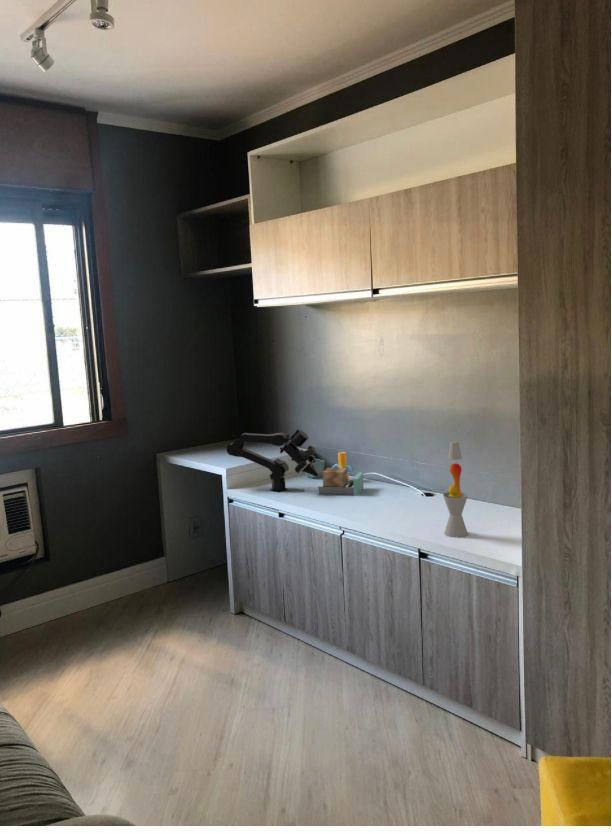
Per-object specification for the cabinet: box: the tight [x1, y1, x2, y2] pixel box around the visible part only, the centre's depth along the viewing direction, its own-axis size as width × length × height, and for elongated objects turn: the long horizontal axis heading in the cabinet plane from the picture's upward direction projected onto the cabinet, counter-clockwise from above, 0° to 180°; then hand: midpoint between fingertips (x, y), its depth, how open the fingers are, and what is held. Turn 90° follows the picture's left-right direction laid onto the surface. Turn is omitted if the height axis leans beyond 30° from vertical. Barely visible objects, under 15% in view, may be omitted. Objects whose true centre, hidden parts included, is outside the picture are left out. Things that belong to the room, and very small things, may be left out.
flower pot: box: [304, 458, 326, 479], centre depth 354 cm, size 9×9×9 cm
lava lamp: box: [442, 441, 469, 538], centre depth 249 cm, size 9×9×35 cm
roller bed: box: [318, 480, 354, 496], centre depth 322 cm, size 17×14×4 cm
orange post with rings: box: [331, 451, 355, 481], centre depth 342 cm, size 12×10×15 cm
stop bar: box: [352, 471, 364, 497], centre depth 319 cm, size 2×14×8 cm, turn 164°
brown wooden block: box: [322, 467, 348, 487], centre depth 322 cm, size 10×9×7 cm
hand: (317, 475), depth 324 cm, fingers closed
